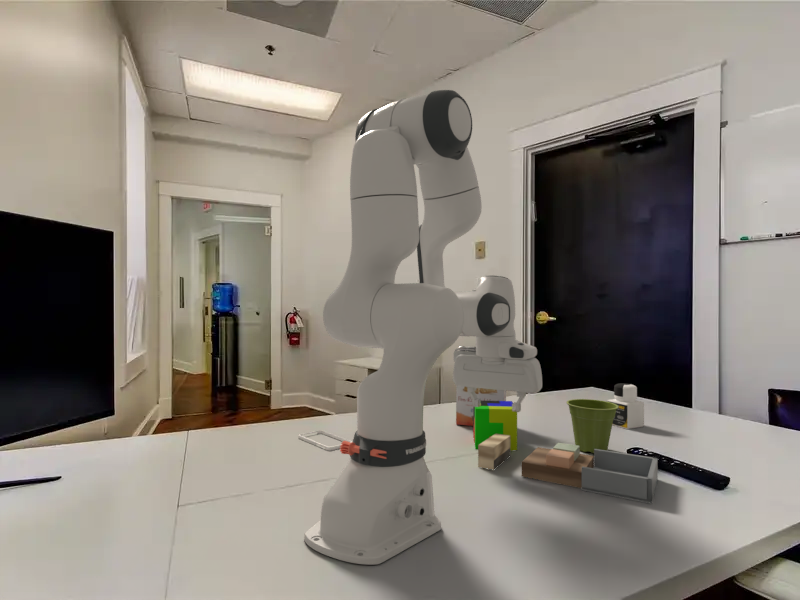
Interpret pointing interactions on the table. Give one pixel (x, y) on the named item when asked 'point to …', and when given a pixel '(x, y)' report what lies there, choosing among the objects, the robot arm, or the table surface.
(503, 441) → the tall wooden pillar
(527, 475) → the brown wooden block
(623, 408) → the medicine bottle
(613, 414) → the plant pot
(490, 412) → the puzzle toy
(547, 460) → the tile terracotta
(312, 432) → the phone case
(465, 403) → the cracker box
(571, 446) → the tile sage
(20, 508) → the table surface
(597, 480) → the tray
